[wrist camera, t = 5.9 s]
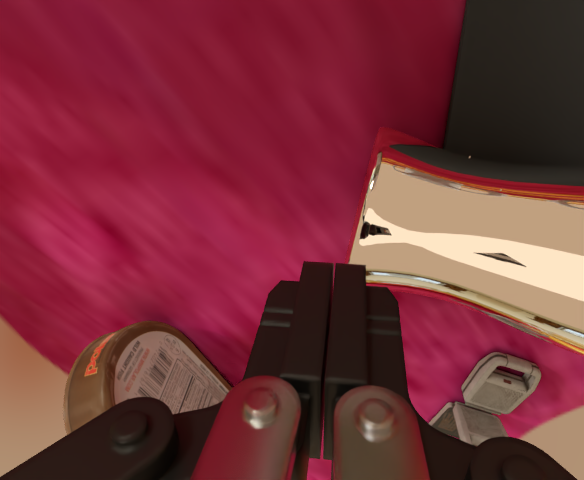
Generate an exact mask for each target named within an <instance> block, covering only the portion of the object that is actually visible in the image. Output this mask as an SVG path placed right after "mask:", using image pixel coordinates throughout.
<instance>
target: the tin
mask: <svg viewBox="0 0 584 480" xmlns="http://www.w3.org/2000/svg"><path fill="white" fill-rule="evenodd" d="M231 389H232V387H231V386H230V385H229V384H228V383H227V381H226V380H225V379H224V378H223V377H222V376H221V375H220V374H219V372H218V371H217V370H216V369H215V368H214V367H213V366H212V365H211V364H210V362H209V361H208V360H207V359H206V358H205V357H204V356H203V355H202V354H201V352H200V351H199V350H198V349H197V348H196V347H195V346H194V345H193V343H192V342H191V341H190V340H189V339H188V338H187V337H186V336H185V335H184V334H182V333H181V332H180V331H179V330H177V329H176V328H174V327H172V326H170V325H168V324H166V323H162V322H157V321H143V322H138V323H135V324H132V325H129V326H126V327H124V328H122V329H120V330H118V331H116V332H112V333H108V334H105V335H103V336H101V337H99V338H97V339H96V340H94V341H93V342H91V343H90V344H89V345H88V346H87V347H86V348H85V349H84V350H83V351H82V352H81V354H80V355H79V356H78V358H77V359H76V361H75V363H74V365H73V367H72V369H71V371H70V373H69V377H68V380H67V383H66V388H65V395H64V404H63V416H64V422H65V429H66V433H67V435H68V434H70V433H71V432H73V431H74V430H76V429H78V428H79V427H81V426H82V425H84V424H86V423H87V422H89V421H90V420H92V419H94V418H95V417H97V416H98V415H100V414H102V413H103V412H105V411H106V410H108V409H110V408H111V407H113V406H115V405H116V404H118V403H120V402H122V401H125V400H128V399H131V398H136V397H152V398H156V399H159V400H161V401H162V402H164V403H165V404H166V405H167V406H168V407H169V408H170V410H171V412H172V414H177V413H182V412H187V411H192V410H197V409H202V408H206V407H210V406H213V405H215V404H217V403H219V402H221V401H223V400H224V398H225V396H226V395H227V393H228V392H229V391H230V390H231Z"/></svg>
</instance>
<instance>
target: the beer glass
mask: <svg viewBox="0 0 584 480" xmlns="http://www.w3.org/2000/svg"><path fill="white" fill-rule="evenodd" d="M344 264H360V265H366V286H378V287H388V289H389V290H390V291H395V292H404V293H412V294H419V295H424V296H428V297H433V298H438V299H441V300H444V301H447V302H451V303H454V304H457V305H460V306H464V307H466V308H468V309H471V310H473V311H476V312H478V313H481V314H483V315H486V316H488V317H491V318H493V319H495V320H498V321H500V322H502V323H504V324H507V325H509V326H511V327H513V328H516V329H518V330H520V331H523V332H525V333H527V334H530V335H532V336H534V337H537V338H539V339H541V340H544V341H546V342H548V343H551V344H553V345H555V346H558V347H560V348H562V349H565V350H568V351H570V352H573V353H576V354H578V355H581V356H584V167H579V166H554V165H532V164H516V163H503V162H496V161H490V160H483V159H477V158H473V157H471V156H465V155H461V154H457V153H453V152H450V151H448V150H445V149H442V148H439V147H436V146H434V145H431V144H429V143H426V142H424V141H422V140H419V139H417V138H414V137H412V136H410V135H407V134H405V133H402V132H400V131H397V130H394V129H391V128H388V127H381V128H379V130H378V133H377V136H376V139H375V142H374V146H373V149H372V153H371V157H370V161H369V164H368V168H367V172H366V176H365V180H364V184H363V188H362V192H361V195H360V199H359V203H358V208H357V212H356V216H355V220H354V224H353V228H352V232H351V236H350V241H349V245H348V249H347V254H346V258H345V263H344Z"/></svg>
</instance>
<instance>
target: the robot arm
mask: <svg viewBox="0 0 584 480" xmlns="http://www.w3.org/2000/svg"><path fill="white" fill-rule="evenodd" d="M333 270H334V264H333V263H323V262H306V261H304V263H303V267H302V272H301V276H300V281H299V282H298V281H282V280H281V281H280V282H279V283H278V284H277V285H276V286H275V287H274V288H273V290H272V291H271V292H270V293H269V294H268V298H267V301H266V304H265V308H264V312H263V314H262V318H261V321H260V325H259V328H258V331H257V334H256V338H255V341H254V344H253V348H252V351H251V354H250V358H249V361H248V364H247V368H246V371H245V374H244V377H243V380H242V381H241V382H239V383H238V384H237V385H235V386H234V387H233V388H232V389H231V390H230V391H229V392H228V393H227V395H226V396H225V398H224V400H223V401H221V402H219V403H217V404H215V405H213V406H210V407H206V408H202V409H197V410H192V411H187V412H182V413H177V414H172V412H171V410H170V408H169V407H168V406H167V405H166V404H165V403H164V402H162V401H161V400H159V399H156V398H152V397H136V398H131V399H128V400H125V401H122V402H120V403H118V404H116V405H115V406H113V407H111V408H110V409H108V410H106V411H105V412H103V413H102V414H100V415H98V416H97V417H95V418H94V419H92V420H90V421H89V422H87V423H86V424H84V425H82V426H81V427H79V428H78V429H76V430H74V431H73V432H71V433H70V434H68V435H67V436H65V437H63V438H62V439H60V440H59V441H57V442H55V443H54V444H52V445H51V446H49V447H47V448H46V449H44V450H43V451H41V452H40V453H38V454H36V455H35V456H33V457H31V458H30V459H28V460H27V461H25V462H24V463H22V464H20V465H19V466H17V467H16V468H14V469H13V470H11V471H9V472H8V473H6V474H4V475H3V476H1V477H0V480H307V471H308V462H309V458H317V459H320V453H321V442H322V430H323V419H324V450H323V459H327V460H332V472H331V480H577V479H576V478H575V477H574V476H573V475H571V474H570V473H569V472H568V471H567V470H566V469H564V468H563V467H562V466H561V465H560V464H558V463H557V462H556V461H555V460H554V459H553V458H551V457H550V456H549V455H548V454H547V453H545V452H544V451H542V450H541V449H539V448H537V447H536V446H534V445H532V444H530V443H528V442H526V441H523V440H520V439H517V438H512V437H493V438H490V439H487V440H485V441H483V442H482V443H480V444H479V445H478V446H477V447H476V446H474V445H472V444H469V443H467V442H464V441H462V440H459V439H457V438H454V437H452V436H449V435H447V434H445V433H443V432H441V431H439V430H437V429H436V428H434V427H432V426H431V425H430V424H428V423H427V422H426V421H425V420H424V419H423V418H422V417H421V416H420V415H419V414H418V412H417V411H416V410H415V408H414V407H413V405H412V403H411V401H410V398H409V394H408V388H407V379H406V370H405V361H404V352H403V343H402V336H401V325H400V316H399V307H398V301H397V300H396V299H395V297H394V296H393V294H392V293H391V292H390V290H389V289H388V287H378V286H366V265H360V264H343V263H336V267H335V278H334V288H333Z"/></svg>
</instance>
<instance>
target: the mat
mask: <svg viewBox="0 0 584 480" xmlns="http://www.w3.org/2000/svg"><path fill="white" fill-rule="evenodd" d="M443 149H445V150H448V151H450V152H453V153H457V154H461V155H465V156H471V157H473V158H477V159H483V160H490V161H496V162H503V163H516V164H532V165H554V166H579V167H584V0H467V1H466V7H465V13H464V19H463V26H462V32H461V38H460V44H459V50H458V57H457V63H456V69H455V75H454V81H453V88H452V94H451V100H450V106H449V112H448V119H447V125H446V131H445V137H444V144H443Z"/></svg>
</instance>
